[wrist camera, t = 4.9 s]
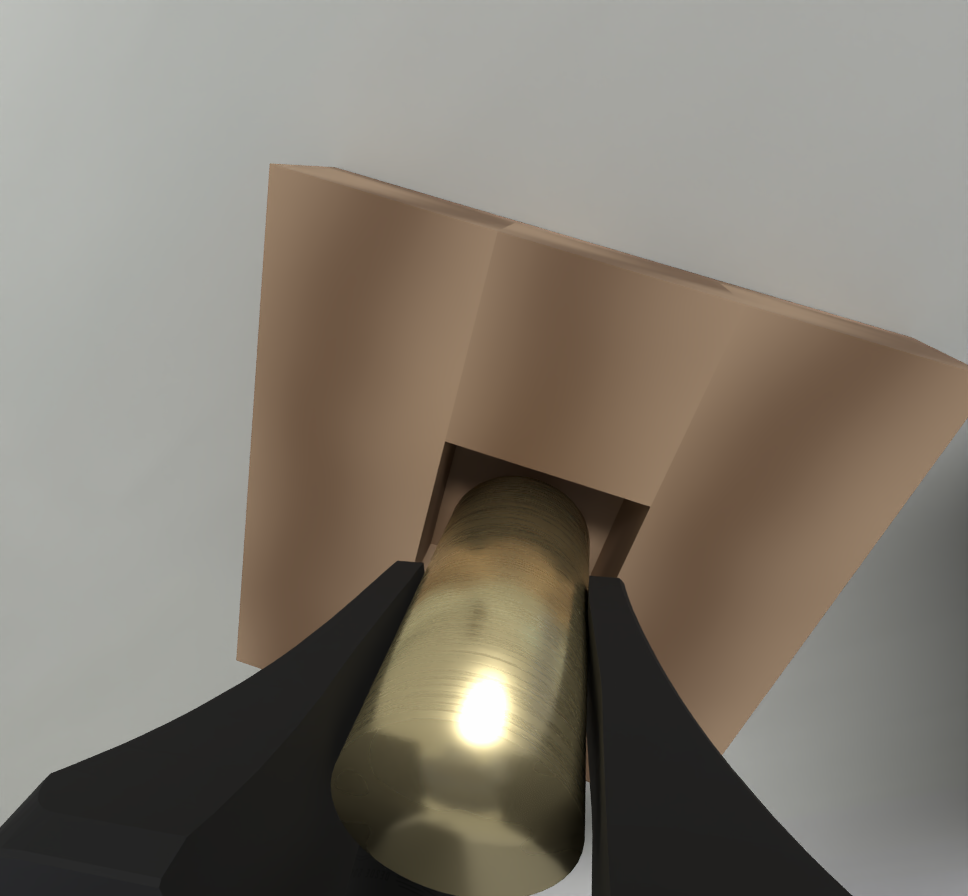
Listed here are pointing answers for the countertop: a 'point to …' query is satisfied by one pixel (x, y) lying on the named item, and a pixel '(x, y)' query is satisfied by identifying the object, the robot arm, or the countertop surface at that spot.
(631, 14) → the countertop surface
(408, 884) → the drinking cup
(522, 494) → the pin
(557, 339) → the socket block
